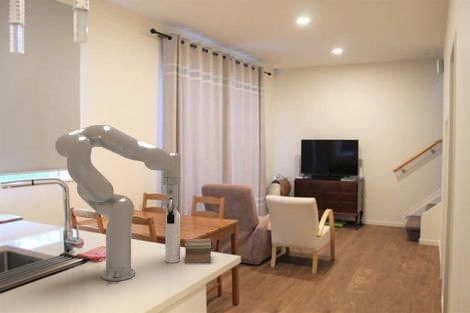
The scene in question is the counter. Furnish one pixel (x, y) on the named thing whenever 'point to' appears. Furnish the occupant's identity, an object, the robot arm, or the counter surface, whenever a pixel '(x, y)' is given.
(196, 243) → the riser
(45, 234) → the counter surface
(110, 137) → the robot arm
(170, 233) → the water bottle
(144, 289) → the counter surface
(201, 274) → the counter surface
